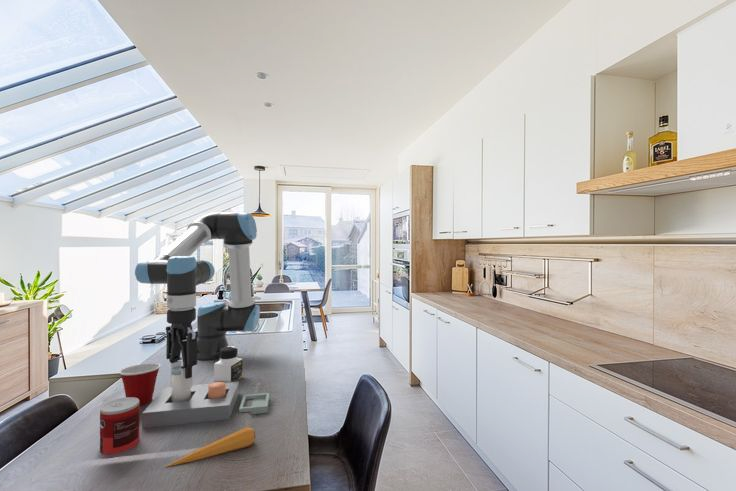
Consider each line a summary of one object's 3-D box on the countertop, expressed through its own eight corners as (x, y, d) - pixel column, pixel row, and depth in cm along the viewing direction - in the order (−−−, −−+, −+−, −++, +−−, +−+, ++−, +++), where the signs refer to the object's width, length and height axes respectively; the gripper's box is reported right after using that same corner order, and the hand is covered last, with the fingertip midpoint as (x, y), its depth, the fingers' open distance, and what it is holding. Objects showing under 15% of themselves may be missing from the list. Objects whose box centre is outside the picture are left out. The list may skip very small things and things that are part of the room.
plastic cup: (163, 394, 110) (163, 358, 109) (157, 409, 100) (158, 370, 100) (123, 400, 105) (123, 363, 105) (113, 417, 95) (114, 376, 95)
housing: (165, 403, 104) (165, 387, 104) (238, 396, 109) (238, 381, 109) (142, 431, 88) (142, 412, 88) (229, 422, 93) (229, 405, 93)
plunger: (210, 401, 102) (210, 382, 102) (227, 400, 103) (227, 381, 103) (206, 409, 97) (206, 389, 97) (223, 407, 98) (223, 387, 98)
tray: (243, 401, 106) (243, 395, 106) (269, 398, 107) (269, 392, 107) (238, 415, 97) (238, 408, 97) (267, 412, 99) (267, 406, 99)
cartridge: (167, 406, 97) (167, 369, 97) (185, 399, 101) (185, 363, 101) (176, 411, 94) (177, 373, 94) (194, 403, 99) (194, 367, 98)
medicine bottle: (231, 384, 118) (231, 351, 118) (213, 382, 119) (213, 350, 119) (242, 376, 125) (242, 345, 125) (225, 375, 126) (226, 344, 126)
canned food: (113, 439, 84) (113, 397, 84) (146, 438, 85) (146, 396, 85) (91, 459, 77) (91, 412, 77) (127, 457, 78) (127, 411, 77)
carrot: (254, 442, 85) (252, 424, 86) (257, 445, 82) (254, 425, 83) (164, 476, 75) (163, 455, 77) (163, 481, 72) (161, 458, 73)
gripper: (152, 306, 99) (152, 383, 99) (185, 314, 89) (185, 399, 90) (178, 302, 105) (178, 374, 106) (211, 309, 96) (211, 389, 96)
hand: (181, 385), depth 98 cm, fingers closed on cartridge, 5 cm apart
